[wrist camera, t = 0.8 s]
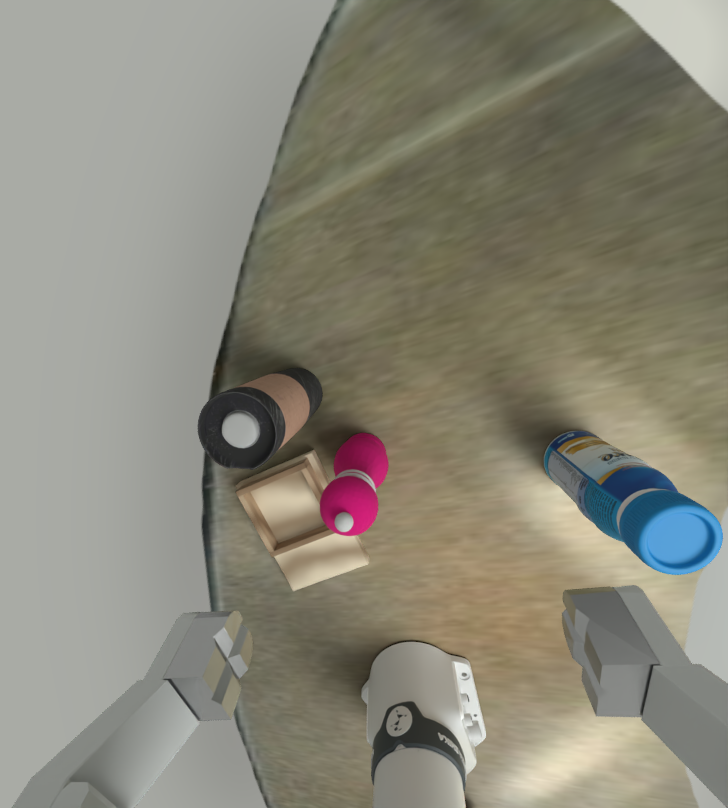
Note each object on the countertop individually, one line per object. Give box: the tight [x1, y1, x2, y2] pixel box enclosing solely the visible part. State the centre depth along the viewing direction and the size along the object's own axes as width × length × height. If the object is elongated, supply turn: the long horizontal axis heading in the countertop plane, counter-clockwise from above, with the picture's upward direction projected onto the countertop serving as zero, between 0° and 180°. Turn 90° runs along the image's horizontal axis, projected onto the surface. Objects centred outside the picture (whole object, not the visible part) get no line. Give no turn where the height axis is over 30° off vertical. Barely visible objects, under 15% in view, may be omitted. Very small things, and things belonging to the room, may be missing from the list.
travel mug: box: [198, 368, 322, 470], centre depth 43 cm, size 8×8×20 cm
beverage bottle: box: [544, 431, 723, 575], centre depth 41 cm, size 8×8×20 cm
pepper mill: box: [320, 433, 388, 536], centre depth 43 cm, size 7×7×20 cm
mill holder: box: [235, 450, 369, 591], centre depth 55 cm, size 19×13×4 cm
